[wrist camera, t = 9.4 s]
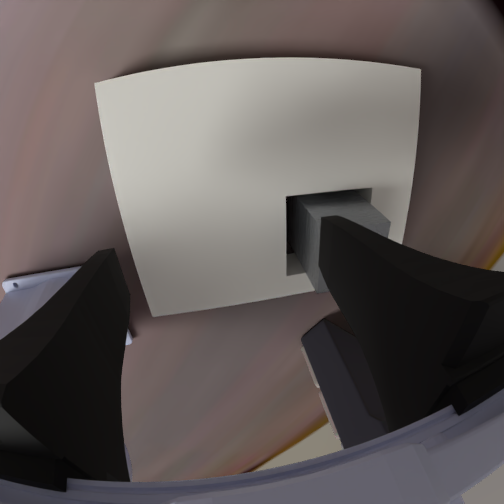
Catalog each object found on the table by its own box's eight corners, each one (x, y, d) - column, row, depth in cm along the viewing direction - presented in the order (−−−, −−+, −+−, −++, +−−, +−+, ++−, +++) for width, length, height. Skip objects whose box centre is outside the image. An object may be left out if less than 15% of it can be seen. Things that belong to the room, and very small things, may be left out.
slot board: (154, 293, 23) (152, 317, 21) (106, 81, 14) (94, 83, 12) (380, 256, 25) (395, 273, 23) (397, 66, 17) (420, 69, 15)
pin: (287, 239, 22) (316, 293, 17) (288, 186, 20) (322, 229, 15) (339, 232, 23) (378, 281, 18) (344, 181, 21) (391, 221, 16)
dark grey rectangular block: (293, 342, 28) (348, 492, 16) (327, 312, 27) (402, 464, 15) (355, 370, 34) (407, 480, 21) (383, 347, 32) (445, 457, 20)
